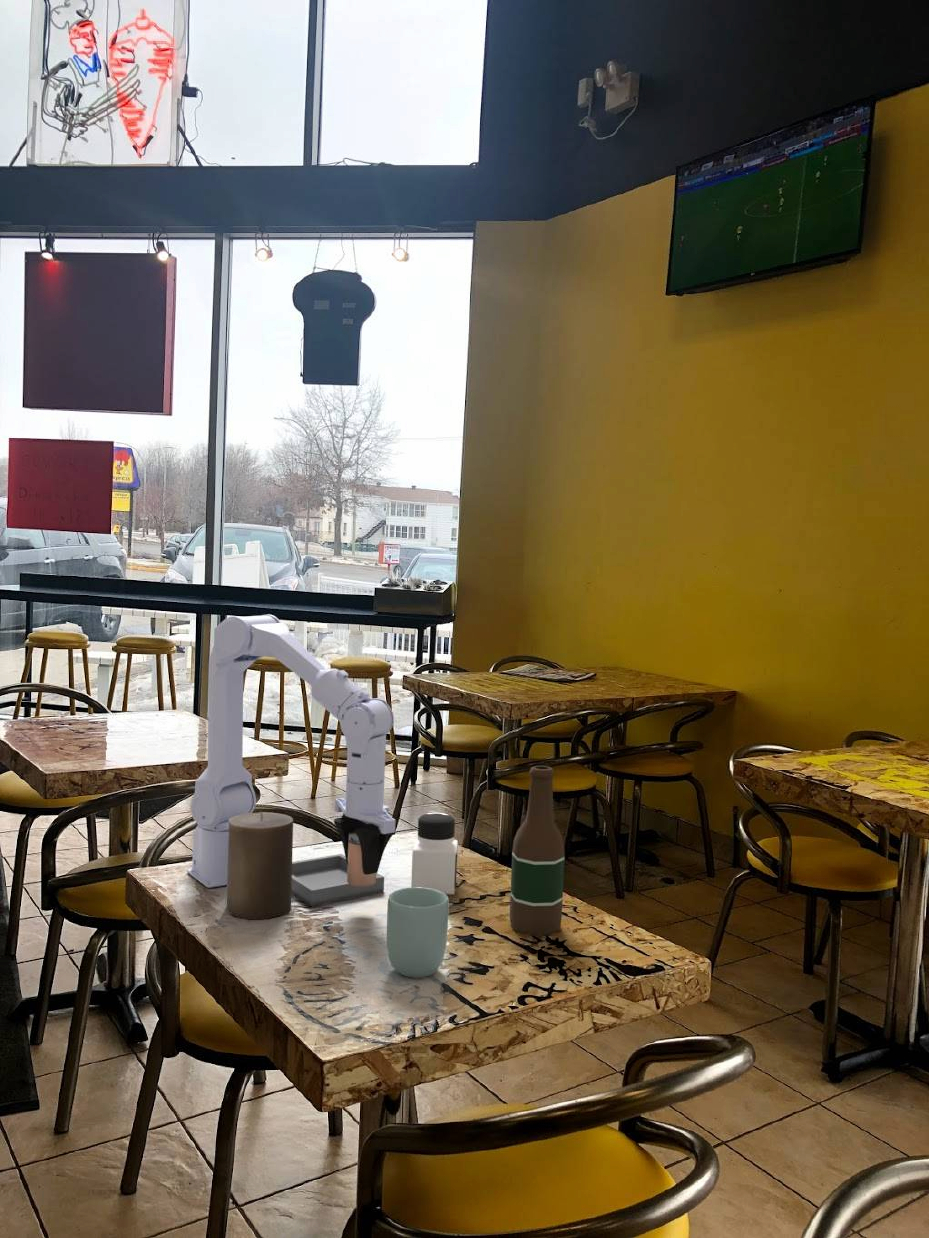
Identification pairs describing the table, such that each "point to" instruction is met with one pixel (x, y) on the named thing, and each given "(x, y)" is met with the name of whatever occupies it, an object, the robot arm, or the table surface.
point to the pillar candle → (259, 865)
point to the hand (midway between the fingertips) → (362, 868)
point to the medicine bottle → (435, 853)
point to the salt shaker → (357, 863)
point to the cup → (417, 930)
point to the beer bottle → (538, 862)
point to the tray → (328, 881)
